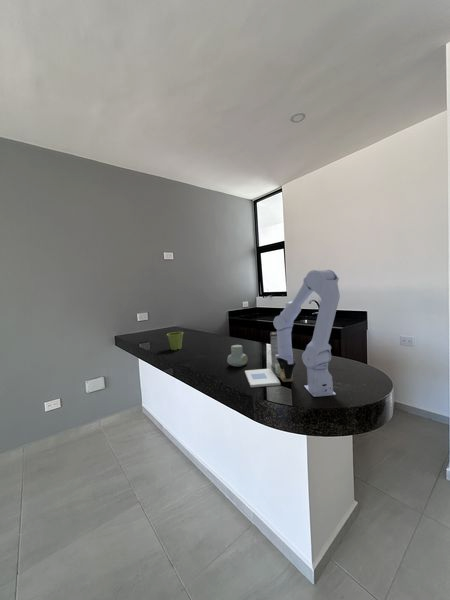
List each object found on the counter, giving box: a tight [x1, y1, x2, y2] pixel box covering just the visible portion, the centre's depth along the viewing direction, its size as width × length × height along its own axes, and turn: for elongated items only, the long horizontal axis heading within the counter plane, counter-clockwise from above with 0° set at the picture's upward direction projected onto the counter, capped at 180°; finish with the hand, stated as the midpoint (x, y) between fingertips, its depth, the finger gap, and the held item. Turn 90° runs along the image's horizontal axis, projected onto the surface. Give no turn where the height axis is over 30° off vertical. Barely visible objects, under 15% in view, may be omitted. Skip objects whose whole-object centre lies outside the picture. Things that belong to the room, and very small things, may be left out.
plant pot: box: [166, 331, 184, 351], centre depth 177 cm, size 12×12×11 cm
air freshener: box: [226, 344, 249, 367], centre depth 130 cm, size 11×8×10 cm
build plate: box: [244, 368, 281, 388], centre depth 108 cm, size 18×12×1 cm, turn 3°
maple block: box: [279, 369, 294, 383], centre depth 105 cm, size 4×4×4 cm
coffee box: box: [269, 331, 279, 368], centre depth 126 cm, size 9×6×16 cm
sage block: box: [274, 363, 281, 376], centre depth 114 cm, size 4×4×4 cm
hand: (286, 376), depth 105 cm, fingers open, 5 cm apart
